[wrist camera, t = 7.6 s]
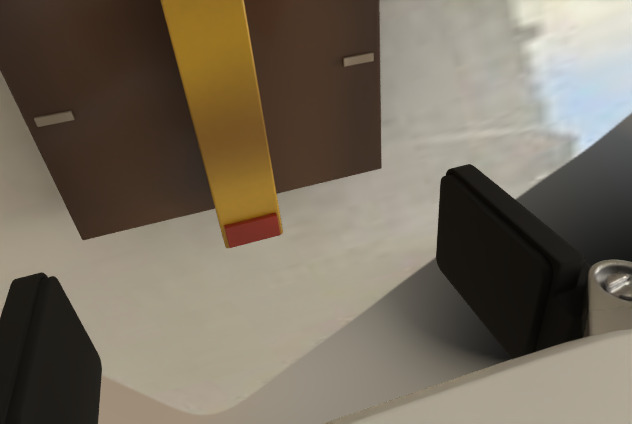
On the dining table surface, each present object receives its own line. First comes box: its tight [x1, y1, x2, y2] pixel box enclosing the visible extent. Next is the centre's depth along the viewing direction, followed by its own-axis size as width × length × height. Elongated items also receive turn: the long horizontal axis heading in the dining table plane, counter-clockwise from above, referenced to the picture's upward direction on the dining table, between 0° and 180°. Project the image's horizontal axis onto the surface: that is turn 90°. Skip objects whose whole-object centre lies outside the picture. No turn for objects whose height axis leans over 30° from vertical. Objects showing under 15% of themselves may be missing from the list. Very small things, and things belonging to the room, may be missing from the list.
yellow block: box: [161, 0, 283, 248], centre depth 19 cm, size 10×2×5 cm, turn 5°
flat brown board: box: [0, 0, 381, 240], centre depth 22 cm, size 15×14×3 cm
